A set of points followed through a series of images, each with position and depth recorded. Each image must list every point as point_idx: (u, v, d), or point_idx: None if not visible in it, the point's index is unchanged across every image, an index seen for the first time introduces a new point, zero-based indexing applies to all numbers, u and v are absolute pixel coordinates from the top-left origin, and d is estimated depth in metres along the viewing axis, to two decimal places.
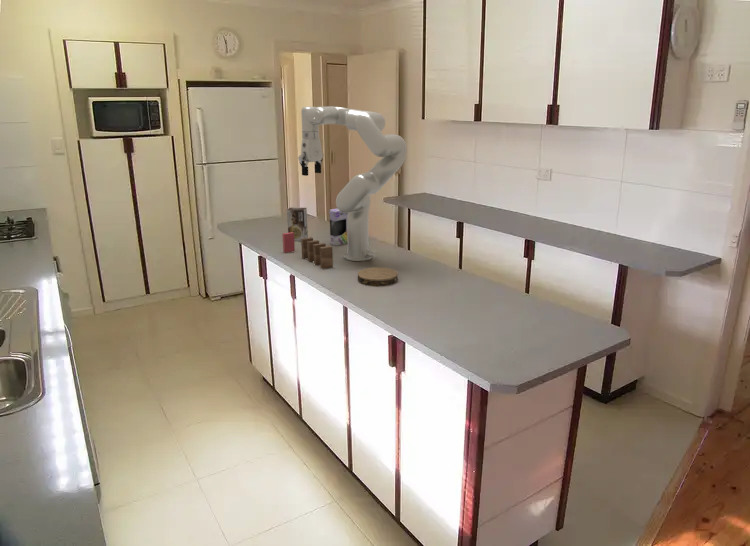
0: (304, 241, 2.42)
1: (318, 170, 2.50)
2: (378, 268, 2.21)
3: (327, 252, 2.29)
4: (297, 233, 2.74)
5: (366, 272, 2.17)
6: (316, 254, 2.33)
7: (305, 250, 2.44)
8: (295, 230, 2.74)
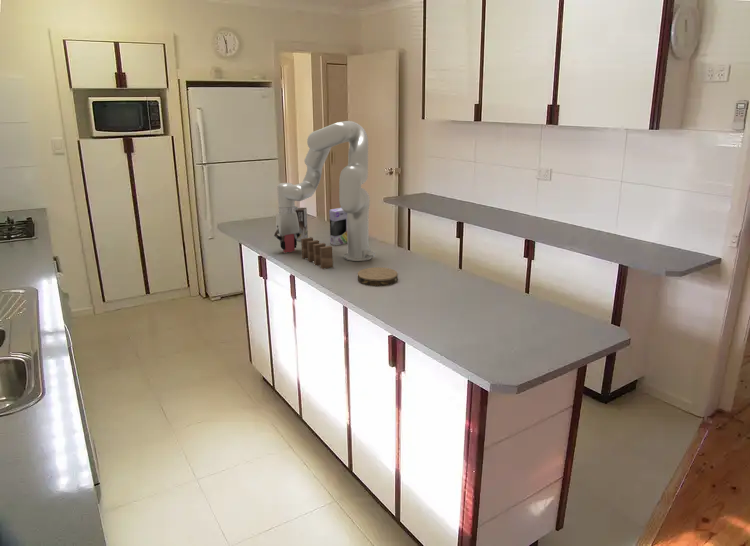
0: (304, 241, 2.42)
1: None
2: (378, 268, 2.21)
3: (327, 252, 2.29)
4: None
5: (366, 272, 2.17)
6: (316, 254, 2.33)
7: (305, 250, 2.44)
8: None
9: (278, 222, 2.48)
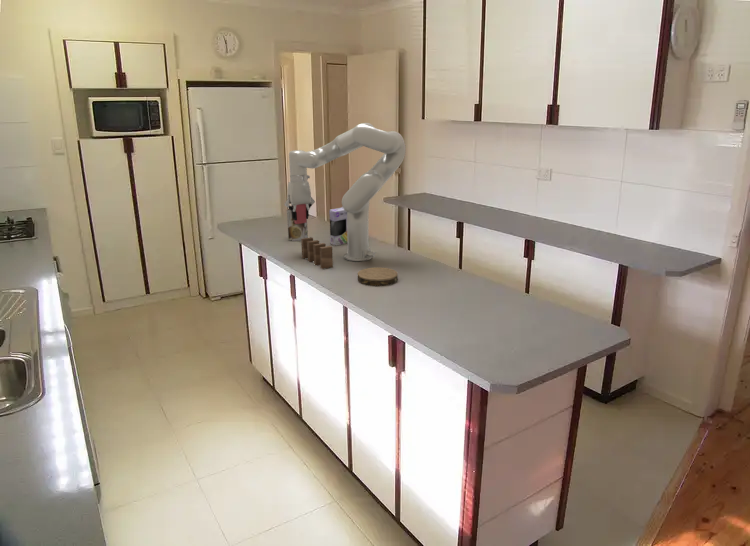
0: (304, 241, 2.42)
1: None
2: (378, 268, 2.21)
3: (327, 252, 2.29)
4: (297, 233, 2.74)
5: (366, 272, 2.17)
6: (316, 254, 2.33)
7: (305, 250, 2.44)
8: (295, 230, 2.74)
9: (290, 191, 2.39)
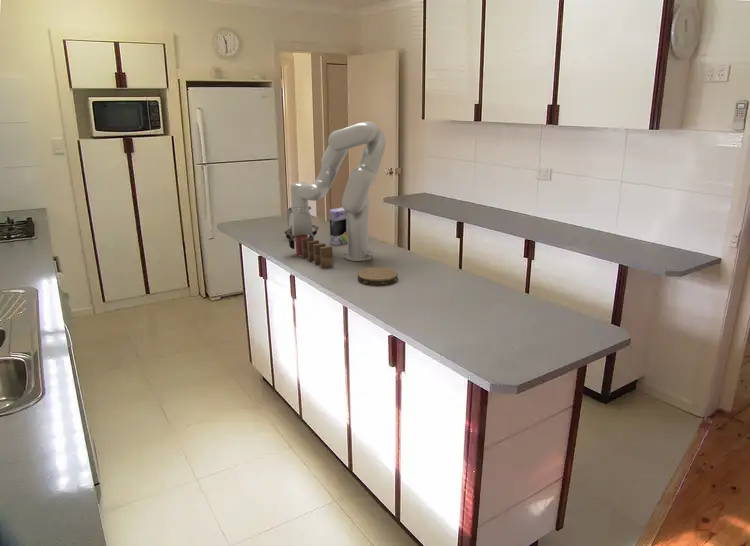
0: (304, 241, 2.42)
1: None
2: (378, 268, 2.21)
3: (327, 252, 2.29)
4: None
5: (366, 272, 2.17)
6: (316, 254, 2.33)
7: (305, 250, 2.44)
8: None
9: (291, 222, 2.43)
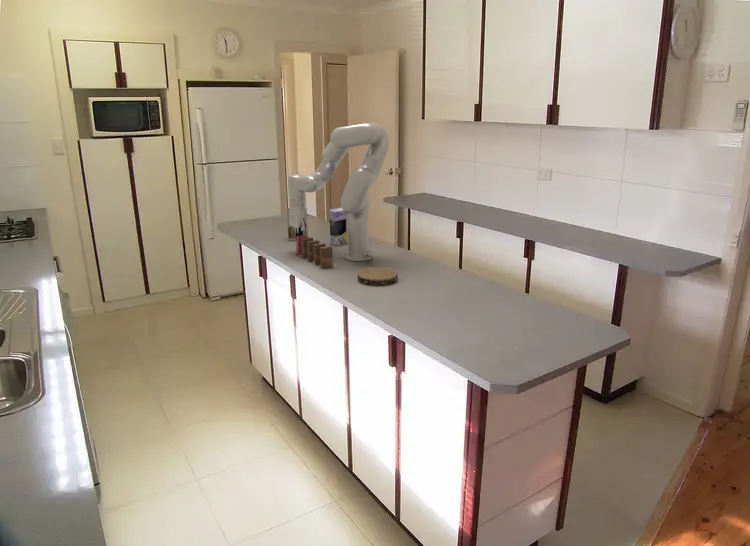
0: (304, 241, 2.42)
1: None
2: (378, 268, 2.21)
3: (327, 252, 2.29)
4: None
5: (366, 272, 2.17)
6: (316, 254, 2.33)
7: (305, 250, 2.44)
8: None
9: (304, 214, 2.44)
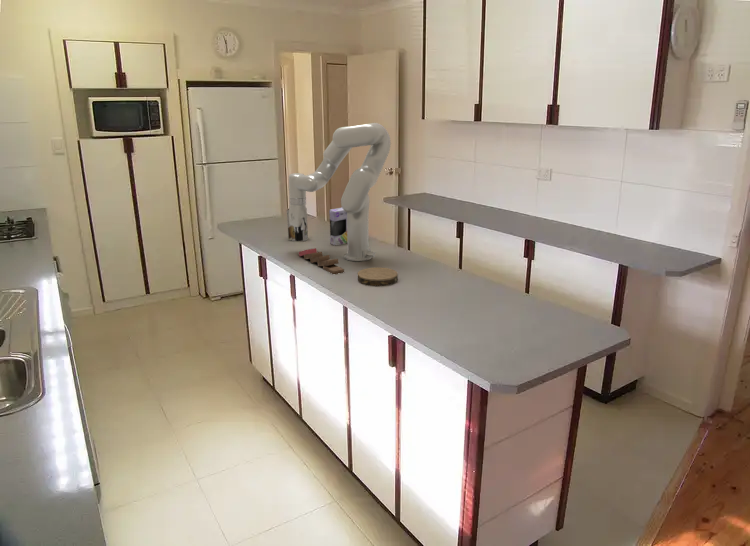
0: (313, 257, 2.37)
1: None
2: (378, 268, 2.21)
3: None
4: None
5: (366, 272, 2.17)
6: (324, 265, 2.30)
7: (309, 258, 2.41)
8: None
9: (304, 213, 2.43)
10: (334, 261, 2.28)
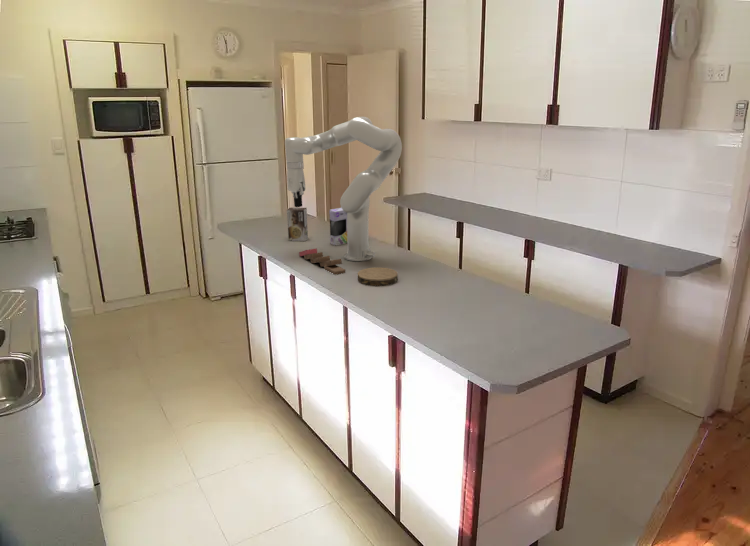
0: None
1: None
2: (378, 268, 2.21)
3: None
4: (297, 233, 2.74)
5: (366, 272, 2.17)
6: (327, 265, 2.29)
7: None
8: (295, 230, 2.74)
9: (302, 178, 2.39)
10: (337, 261, 2.27)
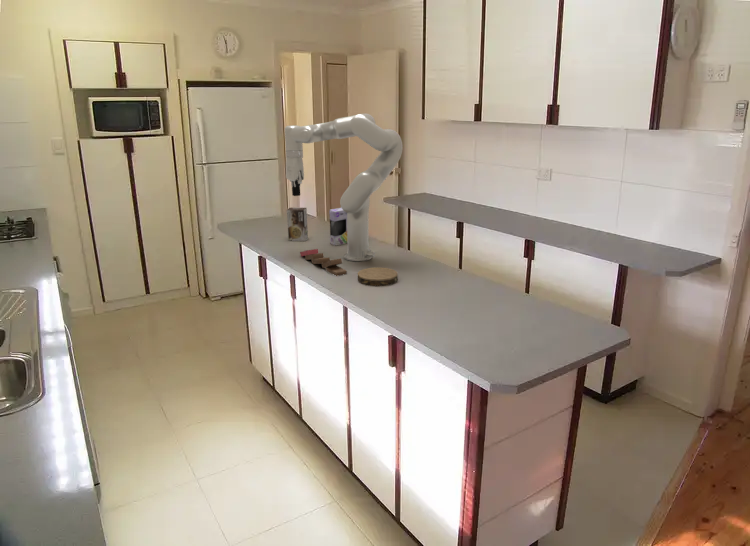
0: (313, 258, 2.36)
1: None
2: (378, 268, 2.21)
3: None
4: (297, 233, 2.74)
5: (366, 272, 2.17)
6: (328, 266, 2.26)
7: None
8: (295, 230, 2.74)
9: (301, 166, 2.38)
10: (337, 261, 2.24)
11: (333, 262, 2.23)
